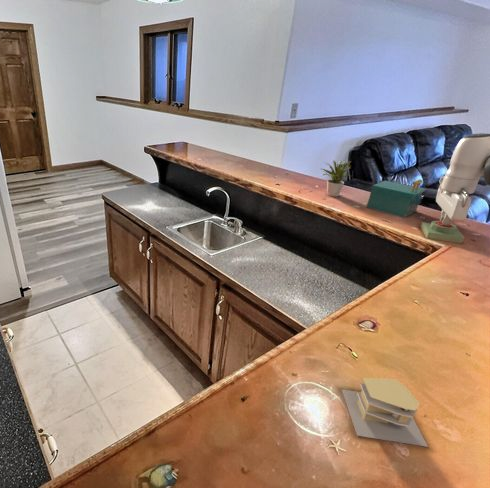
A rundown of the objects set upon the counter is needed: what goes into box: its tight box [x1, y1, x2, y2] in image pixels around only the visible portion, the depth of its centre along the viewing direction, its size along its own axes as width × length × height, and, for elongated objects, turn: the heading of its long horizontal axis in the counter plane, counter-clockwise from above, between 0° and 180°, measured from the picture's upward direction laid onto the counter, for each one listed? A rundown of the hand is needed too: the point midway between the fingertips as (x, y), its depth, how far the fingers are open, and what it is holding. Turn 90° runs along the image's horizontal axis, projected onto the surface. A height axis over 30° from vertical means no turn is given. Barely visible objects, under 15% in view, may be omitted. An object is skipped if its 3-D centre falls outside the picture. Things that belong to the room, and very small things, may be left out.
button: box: [437, 222, 451, 227], centre depth 121 cm, size 4×4×2 cm
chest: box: [366, 186, 423, 218], centre depth 143 cm, size 15×12×9 cm
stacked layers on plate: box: [341, 377, 429, 448], centre depth 56 cm, size 10×9×6 cm
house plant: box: [320, 159, 352, 197], centre depth 160 cm, size 14×14×16 cm
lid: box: [371, 178, 427, 196], centre depth 140 cm, size 15×12×5 cm
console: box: [419, 220, 465, 244], centre depth 121 cm, size 10×10×4 cm
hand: (443, 223), depth 120 cm, fingers closed, pressing on button
